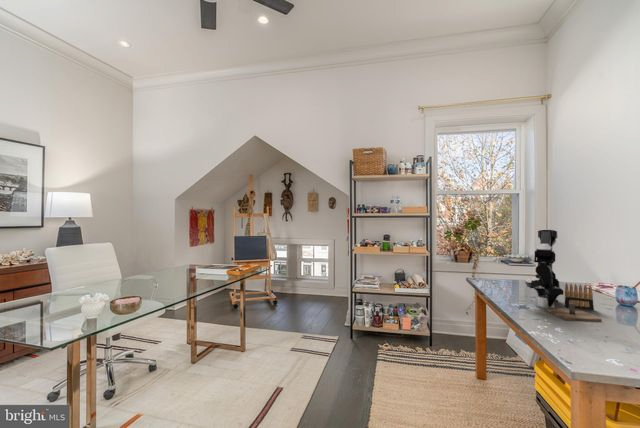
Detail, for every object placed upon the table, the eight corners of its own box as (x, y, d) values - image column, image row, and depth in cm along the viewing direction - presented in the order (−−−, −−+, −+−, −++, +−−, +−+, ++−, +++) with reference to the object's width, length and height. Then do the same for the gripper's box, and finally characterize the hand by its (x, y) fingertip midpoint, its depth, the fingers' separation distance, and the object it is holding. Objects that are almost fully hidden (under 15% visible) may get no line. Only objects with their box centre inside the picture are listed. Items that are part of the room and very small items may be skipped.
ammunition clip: (565, 307, 146) (564, 283, 146) (564, 306, 148) (563, 282, 148) (594, 310, 140) (593, 285, 140) (593, 309, 141) (592, 284, 142)
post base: (546, 310, 142) (545, 298, 142) (579, 311, 139) (578, 299, 139) (564, 320, 128) (564, 307, 128) (601, 321, 126) (601, 308, 126)
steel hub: (535, 304, 151) (535, 294, 151) (549, 304, 150) (549, 295, 150) (542, 308, 145) (542, 298, 145) (557, 308, 144) (556, 298, 144)
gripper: (518, 269, 158) (519, 298, 158) (537, 276, 140) (538, 309, 140) (541, 270, 156) (542, 299, 156) (563, 277, 138) (564, 310, 138)
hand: (545, 304), depth 147 cm, fingers closed on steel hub, 6 cm apart
